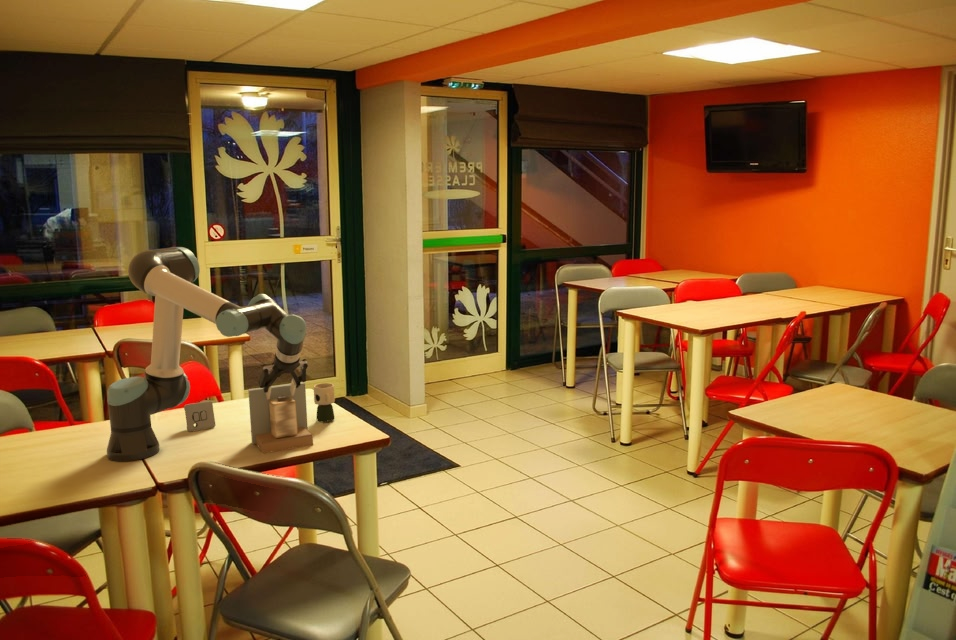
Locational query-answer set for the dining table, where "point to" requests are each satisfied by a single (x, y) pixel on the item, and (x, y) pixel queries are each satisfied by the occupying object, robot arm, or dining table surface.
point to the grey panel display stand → (263, 424)
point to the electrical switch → (199, 416)
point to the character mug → (324, 401)
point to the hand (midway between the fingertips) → (279, 393)
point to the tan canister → (283, 417)
